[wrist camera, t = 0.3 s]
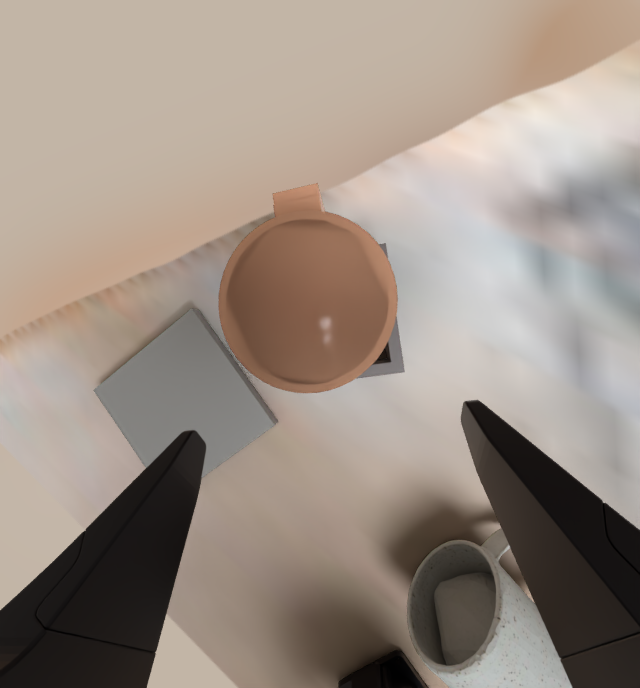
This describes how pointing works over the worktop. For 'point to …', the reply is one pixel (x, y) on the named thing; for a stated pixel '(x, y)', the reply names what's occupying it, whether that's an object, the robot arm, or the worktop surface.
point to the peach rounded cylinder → (307, 297)
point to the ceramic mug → (479, 621)
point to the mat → (185, 395)
